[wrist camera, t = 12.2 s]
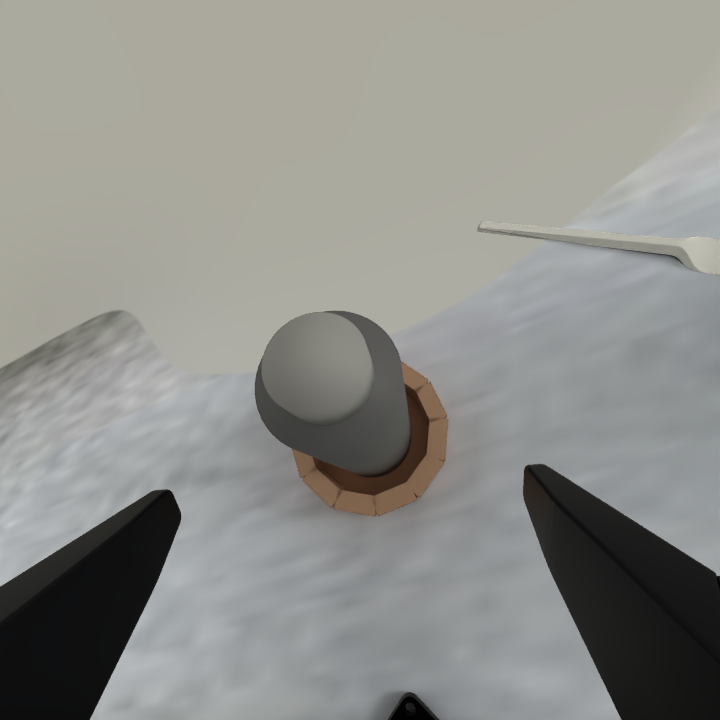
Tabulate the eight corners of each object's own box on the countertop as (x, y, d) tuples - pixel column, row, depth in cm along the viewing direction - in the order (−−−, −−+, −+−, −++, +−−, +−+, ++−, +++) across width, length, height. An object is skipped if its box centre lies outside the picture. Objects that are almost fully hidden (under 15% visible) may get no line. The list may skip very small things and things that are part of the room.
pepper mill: (352, 491, 21) (262, 481, 9) (321, 418, 23) (214, 331, 11) (426, 454, 21) (433, 395, 9) (389, 384, 23) (355, 262, 11)
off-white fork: (480, 216, 29) (484, 198, 27) (787, 249, 23) (815, 229, 22) (472, 247, 28) (475, 230, 26) (790, 290, 22) (820, 273, 21)
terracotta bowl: (385, 546, 20) (380, 553, 18) (280, 449, 23) (261, 442, 21) (471, 424, 22) (479, 413, 19) (363, 349, 25) (356, 331, 22)
